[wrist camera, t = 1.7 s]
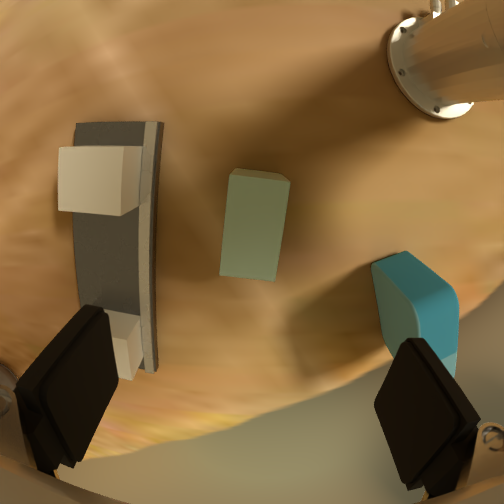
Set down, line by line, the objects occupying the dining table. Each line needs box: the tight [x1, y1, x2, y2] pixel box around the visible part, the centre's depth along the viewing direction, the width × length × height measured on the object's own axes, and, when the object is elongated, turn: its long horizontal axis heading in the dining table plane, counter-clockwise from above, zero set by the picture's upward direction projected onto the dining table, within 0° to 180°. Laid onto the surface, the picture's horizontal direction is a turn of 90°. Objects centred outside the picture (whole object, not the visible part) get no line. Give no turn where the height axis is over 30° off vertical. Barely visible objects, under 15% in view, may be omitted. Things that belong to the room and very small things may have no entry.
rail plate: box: [73, 121, 164, 374], centre depth 32 cm, size 30×10×2 cm, turn 173°
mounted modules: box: [58, 146, 144, 381], centre depth 29 cm, size 25×7×5 cm, turn 173°
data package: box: [371, 251, 459, 378], centre depth 28 cm, size 12×4×12 cm, turn 20°
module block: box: [219, 168, 291, 282], centre depth 27 cm, size 8×4×8 cm, turn 173°
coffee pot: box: [0, 364, 18, 391], centre depth 34 cm, size 21×12×15 cm, turn 106°
